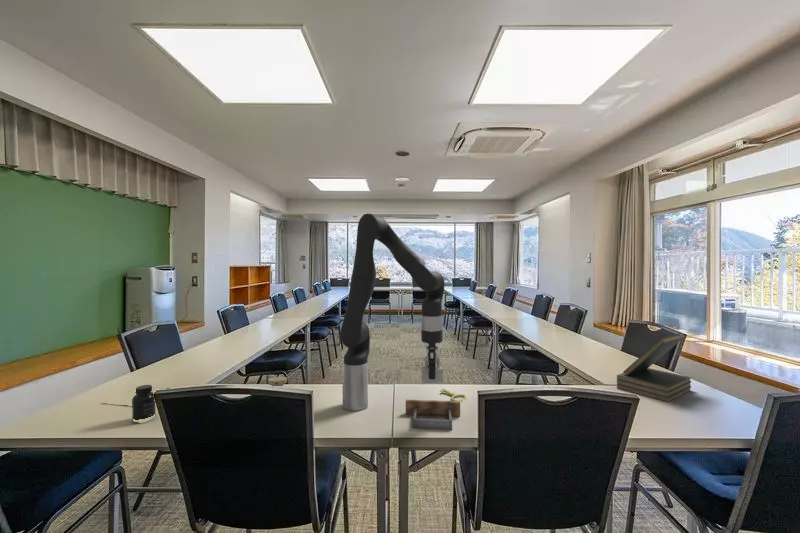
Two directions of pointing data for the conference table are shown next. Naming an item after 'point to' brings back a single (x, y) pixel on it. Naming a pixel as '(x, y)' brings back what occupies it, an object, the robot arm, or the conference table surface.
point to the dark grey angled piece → (654, 374)
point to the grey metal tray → (432, 421)
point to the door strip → (432, 407)
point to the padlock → (437, 373)
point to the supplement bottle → (143, 403)
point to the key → (454, 395)
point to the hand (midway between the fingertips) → (432, 376)
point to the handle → (277, 381)
